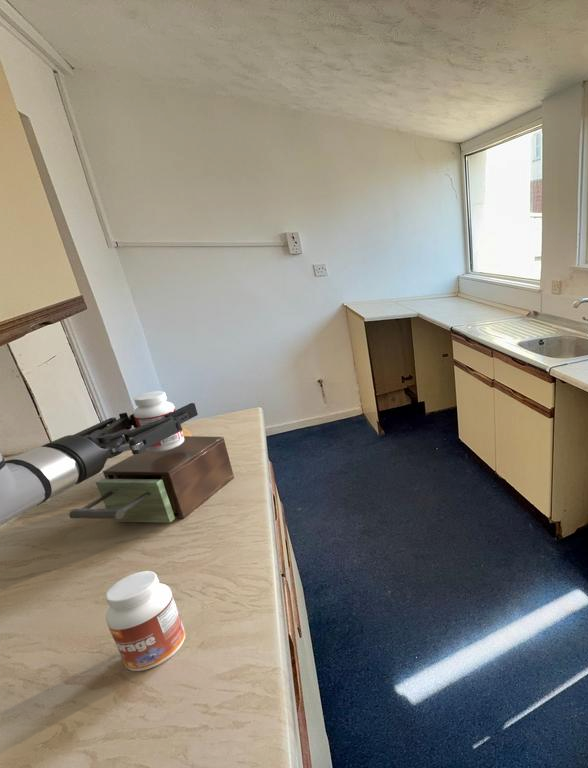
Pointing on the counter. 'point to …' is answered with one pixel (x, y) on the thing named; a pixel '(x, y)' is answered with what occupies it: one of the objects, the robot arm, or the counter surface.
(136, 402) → the pill bottle
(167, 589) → the pill bottle
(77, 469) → the robot arm
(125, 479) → the drawer
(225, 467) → the cabinet
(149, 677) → the counter surface
